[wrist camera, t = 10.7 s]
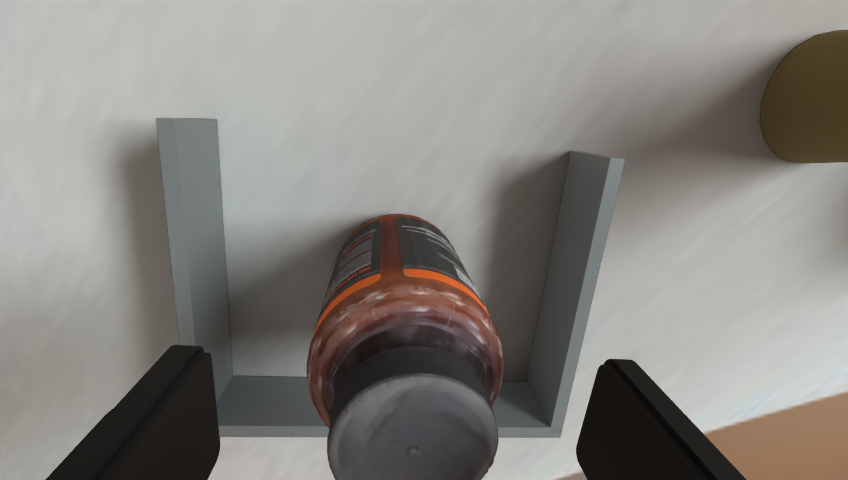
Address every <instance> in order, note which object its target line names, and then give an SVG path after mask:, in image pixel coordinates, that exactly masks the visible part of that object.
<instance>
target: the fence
mask: <svg viewBox="0 0 848 480" xmlns="http://www.w3.org/2000/svg"><path fill="white" fill-rule="evenodd" d="M156 123H157V132H158V142H159V151H160V161H161V171H162V180H163V190H164V199H165V209H166V218H167V228H168V238H169V247H170V257H171V266H172V276H173V286H174V295H175V305H176V314H177V324H178V333H179V343H180V345H191V346H201V347H203V349H204V353H210V354H211V357H212V365H213V375H214V385H215V396H216V406H217V416H218V427H219V437H328V434H329V430H330V429H329V428H328V427H327V426H326V425H325V423H324V422H323V421H322V420H321V418H320V416H319V415H318V414H317V412H316V410H315V408H314V405H313V403H312V401H311V398H310V393H309V388H308V383H307V377H267V376H233V373H232V357H231V341H230V324H229V308H228V292H227V275H226V259H225V243H224V227H223V210H222V194H221V178H220V162H219V145H218V129H217V120H216V119H205V118H156ZM624 162H625V159H623V158H617V157H611V156H605V155H599V154H593V153H587V152H579V151H571V152H570V157H569V162H568V168H567V173H566V178H565V183H564V188H563V194H562V199H561V204H560V209H559V214H558V220H557V225H556V230H555V235H554V240H553V246H552V251H551V256H550V261H549V266H548V272H547V277H546V282H545V287H544V292H543V298H542V303H541V308H540V313H539V318H538V324H537V329H536V334H535V339H534V344H533V350H532V355H531V360H530V365H529V370H528V376H527V381H502V384H501V388H500V390H499V393H498V395H497V398H496V400H495V402H494V404H493V407H492V410H493V413H494V416H495V419H496V422H497V428H498V437H500V438H560V437H561V432H562V428H563V424H564V420H565V415H566V411H567V407H568V402H569V398H570V394H571V389H572V385H573V381H574V377H575V372H576V368H577V364H578V359H579V355H580V351H581V347H582V342H583V338H584V334H585V329H586V325H587V321H588V317H589V312H590V308H591V304H592V299H593V295H594V291H595V287H596V282H597V278H598V274H599V269H600V265H601V261H602V257H603V252H604V248H605V244H606V239H607V235H608V231H609V226H610V222H611V218H612V214H613V209H614V205H615V201H616V196H617V192H618V188H619V184H620V179H621V175H622V171H623V166H624Z"/></svg>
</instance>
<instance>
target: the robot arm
mask: <svg viewBox="0 0 848 480" xmlns="http://www.w3.org/2000/svg"><path fill="white" fill-rule="evenodd" d="M219 451H220V437H219V427H218V416H217V406H216V396H215V385H214V375H213V365H212V357H211V354H210V353H204V349H203V347H201V346H191V345H173V346H171V347H170V348H169V349H168V350H167V351H166V352H165V353H164V354H163V355H162V356H161V358H160V359H159V360H158V361H157V362H156V363H155V364H154V365H153V366H152V367H151V368H150V369H149V371H148V372H147V373H146V374H145V375H144V376H143V377H142V378H141V379H140V380H139V381H138V383H137V384H136V385H135V386H134V387H133V388H132V389H131V390H130V391H129V392H128V393H127V394H126V396H125V397H124V398H123V399H122V400H121V401H120V402H119V403H118V404H117V405H116V406H115V408H114V409H112V410H111V411H110V412H108V413H107V414H106V415H105V416H104V417H103V418H102V419H101V420H100V421H99V423H98V424H97V425H96V426H95V427H94V428H93V429H92V430H91V431H90V432H89V433H88V434H87V436H86V437H85V438H84V439H83V440H82V441H81V442H80V443H79V444H78V445H77V446H76V447H75V448H74V450H73V451H72V452H71V453H70V454H69V455H68V456H67V457H66V458H65V459H64V460H63V461H62V463H61V464H60V465H59V466H58V467H57V468H56V469H55V470H54V471H53V472H52V473H51V474H50V475H49V477H48V478H47V479H46V480H207V479H208V477H209V475H210V473H211V471H212V469H213V467H214V465H215V463H216V461H217V458H218V455H219ZM576 454H577V459H578V462H579V464H580V466H581V468H582V470H583V472H584V474H585V476H586V478H587V480H746V479H745V478H744V477H743V476H742V475H741V474H740V473H739V471H738V470H737V469H736V468H735V467H734V466H733V465H732V464H731V463H730V462H729V461H728V460H727V459H726V458H725V457H724V455H723V454H722V453H721V452H720V451H719V450H718V449H717V448H716V447H715V446H714V445H713V444H712V443H711V442H710V441H709V440H708V438H707V437H705V435H704V434H703V433H702V432H701V431H700V430H699V429H698V428H697V427H696V426H695V425H694V424H693V423H692V422H691V420H690V419H689V418H688V417H687V416H686V415H685V414H684V413H683V412H682V411H681V410H680V409H679V408H678V407H677V406H676V405H675V404H674V402H673V401H672V400H671V399H670V398H669V397H668V396H667V395H666V394H665V393H664V392H663V391H662V390H661V389H660V388H659V387H658V386H657V384H656V383H655V382H654V381H653V380H652V379H651V378H650V377H649V376H648V375H647V374H646V373H645V372H644V371H643V370H642V369H641V368H640V366H639V365H638V364H637V363H636V362H634V361H633V360H624V359H608V360H607V361H606V362H605V363H604V365H601V366H600V367H599V368H598V371H597V375H596V378H595V382H594V385H593V389H592V393H591V396H590V400H589V403H588V407H587V410H586V414H585V418H584V421H583V425H582V428H581V432H580V436H579V439H578V443H577V447H576Z"/></svg>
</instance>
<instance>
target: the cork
mask: <svg viewBox="0 0 848 480" xmlns="http://www.w3.org/2000/svg"><path fill="white" fill-rule="evenodd" d="M760 124H761V128H762V132H763V136H764V140H765V141H766V143H767V144H768V146H769V147H770V148H771V150H772V151H773V152H774V154H776V155H778V156H780V157H781V158H783V159H785V160H787V161H791V162H800V163H828V162H848V30H837V31H832V32H827V33H823V34H818V35H816V36H814V37H812V38H810V39H809V40H807V41H805V42H803V43H801V44H800V45H798V46H797V47H796V48H795V49H794V50H793V51H792V52H791V53H790V54H789V55H788V56H787V57H786V58H785V59H783V60H782V61H781V63H780V64H779V66H778V67H777V69H776V71H775V72H774V74H773V75H772V77H771V79H770V80H769V82H768V85H767V88H766V91H765V93H764V96H763V99H762V102H761V116H760Z"/></svg>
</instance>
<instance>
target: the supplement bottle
mask: <svg viewBox="0 0 848 480" xmlns="http://www.w3.org/2000/svg"><path fill="white" fill-rule="evenodd" d="M503 366H504V362H503V351H502V345H501V341H500V338H499V335H498V333H497V330H496V328H495V325H494V323H493V321H492V320H491V318H490V316H489V314H488V311H487V310H486V308H485V306H484V304H483V302H482V300H481V297H480V296H479V294H478V292H477V290H476V289H475V287H474V285H473V283H472V281H471V279H470V277H469V276H468V274H467V272H466V270H465V268H464V266H463V264H462V263H461V261H460V259H459V257H458V255H457V254H456V251H455V250H454V248H453V246H452V245H451V243H450V242H449V240H448V239H447V238H446V236H445V235H444V234H443V233H442V232H441V231H440V230H439V229H438V228H437V227H435V226H434V225H432V224H431V223H429V222H428V221H426V220H423V219H421V218H419V217H416V216H411V215H404V214H392V215H386V216H381V217H377V218H374V219H372V220H370V221H368V222H366V223H365V224H363V225H362V226H360V227H359V228H358V229H356V230H355V231H354V232H353V233H352V234H351V235H350V237H349V238H348V239H347V241H346V242H345V244H344V245H343V247H342V249H341V251H340V253H339V256H338V258H337V261H336V264H335V268H334V271H333V274H332V277H331V280H330V283H329V287H328V290H327V293H326V296H325V300H324V303H323V306H322V309H321V312H320V315H319V318H318V321H317V324H316V328H315V331H314V335H313V338H312V341H311V344H310V349H309V354H308V360H307V383H308V388H309V393H310V398H311V401H312V403H313V405H314V408H315V410H316V412H317V414H318V415H319V416H320V418H321V420H322V421H323V422H324V423H325V425H326V426H327V427H328V428H329V429H330V430H329V434H328V439H327V454H328V460H329V466H330V468H331V471H332V473H333V475H334V478H335V480H481V479H482V478H483V477H484V475H485V474H486V473H487V472H488V469H489V468H490V467H491V466H492V464H493V461H494V457H495V454H496V451H497V446H498V428H497V422H496V419H495V416H494V413H493V410H492V407H493V404H494V402H495V400H496V398H497V395H498V393H499V390H500V388H501V384H502V379H503Z"/></svg>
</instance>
